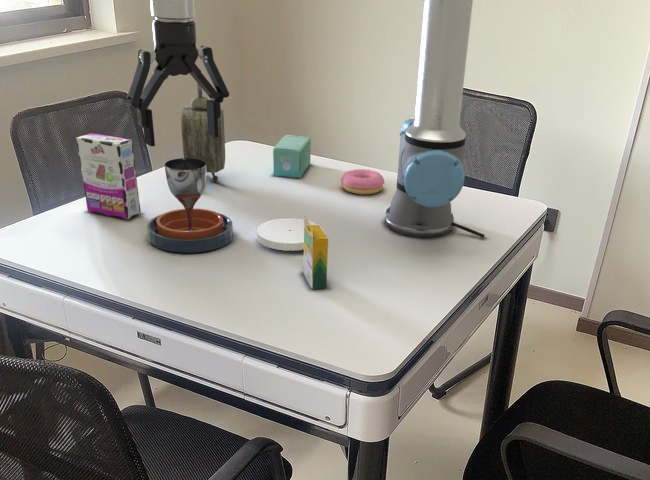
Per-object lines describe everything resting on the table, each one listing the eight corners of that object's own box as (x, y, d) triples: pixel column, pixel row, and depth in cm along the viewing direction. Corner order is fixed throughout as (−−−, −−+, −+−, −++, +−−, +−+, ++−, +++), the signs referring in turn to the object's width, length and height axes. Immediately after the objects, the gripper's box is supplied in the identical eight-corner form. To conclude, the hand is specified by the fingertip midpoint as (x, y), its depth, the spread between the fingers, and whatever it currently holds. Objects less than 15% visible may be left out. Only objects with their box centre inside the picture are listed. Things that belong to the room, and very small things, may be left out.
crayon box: (327, 288, 135) (329, 229, 128) (311, 289, 134) (312, 230, 128) (317, 272, 140) (319, 214, 134) (302, 273, 140) (303, 215, 133)
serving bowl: (248, 242, 151) (248, 228, 149) (173, 261, 142) (172, 247, 140) (206, 217, 162) (205, 204, 160) (134, 233, 152) (132, 219, 151)
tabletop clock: (191, 172, 188) (183, 69, 174) (226, 173, 189) (221, 71, 175) (186, 191, 176) (177, 82, 162) (224, 191, 177) (218, 83, 163)
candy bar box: (142, 213, 162) (133, 139, 153) (128, 220, 158) (118, 144, 149) (101, 205, 165) (90, 131, 156) (86, 211, 161) (74, 136, 153)
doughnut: (331, 189, 182) (332, 173, 180) (356, 179, 190) (357, 163, 187) (367, 199, 177) (368, 182, 175) (392, 188, 185) (393, 172, 182)
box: (272, 176, 189) (272, 147, 185) (284, 161, 200) (284, 134, 196) (300, 179, 188) (300, 150, 184) (310, 164, 199) (311, 136, 195)
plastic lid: (244, 247, 149) (244, 236, 147) (274, 225, 160) (274, 214, 158) (307, 260, 145) (307, 248, 144) (333, 236, 156) (333, 225, 155)
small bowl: (236, 241, 151) (235, 223, 149) (177, 255, 144) (176, 236, 142) (203, 221, 160) (202, 204, 158) (147, 234, 152) (144, 216, 150)
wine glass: (202, 245, 148) (196, 171, 139) (165, 240, 149) (157, 167, 141) (216, 231, 154) (211, 160, 146) (180, 226, 155) (174, 156, 147)
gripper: (223, 14, 139) (228, 127, 150) (97, 18, 125) (112, 143, 136) (244, 19, 134) (247, 136, 145) (115, 24, 120) (130, 153, 131)
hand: (182, 140), depth 141 cm, fingers open, 13 cm apart
